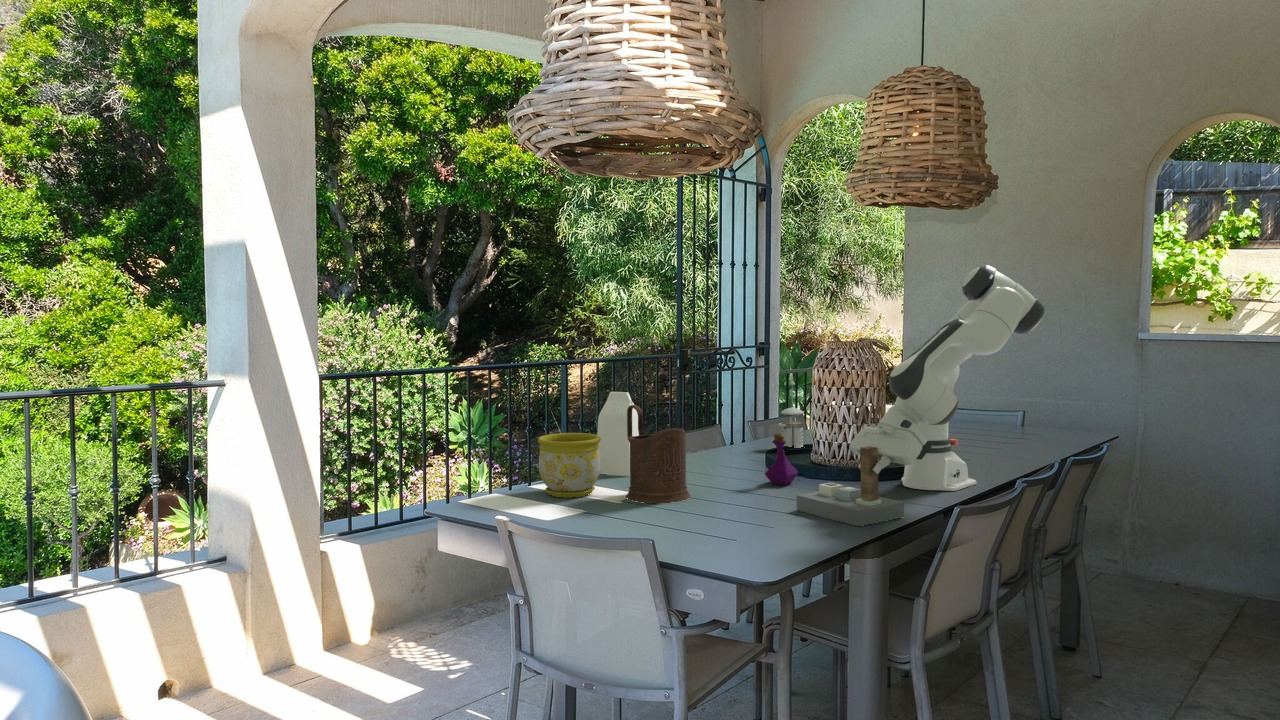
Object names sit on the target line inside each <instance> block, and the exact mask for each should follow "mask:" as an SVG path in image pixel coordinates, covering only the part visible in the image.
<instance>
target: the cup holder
mask: <svg viewBox="0 0 1280 720" xmlns="http://www.w3.org/2000/svg"><path fill="white" fill-rule="evenodd" d="M633 408H634V409H635V410H636V411H637V414H638V432H639V436H632V409H633ZM686 435H687V434H686V430H685V429H684V428H681V427H677V428H676V427H675V428H668V429H663V430H659V431H658V432H656V433H651V434H645V432H644V414H643V410H642V408H641V407H640V406H638V405H637V404H634V405H630V406H629V407H628V408H627V437H628V440H629V443H630V477H629V484H630V485H629V487H628V489H629V490H628V492H627V494H626V495H625V498H626V497H627V498H628V499H630V500H633V501H638V502H644V503H671V502H678V501H682V500H686V499H688V498H690V496H691V494H690V492H689V491H688V486H687V471H686V470H687V465H686V464H687V461H686V459H687V457H686V456H687V455H686V454H687V453H686V448H687V447H686V439H687V438H686ZM690 499H691V498H690ZM686 501H687V500H686ZM678 503H679V502H678ZM671 504H672V503H671Z"/></svg>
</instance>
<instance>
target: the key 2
mask: <svg viewBox="0 0 1280 720" xmlns="http://www.w3.org/2000/svg"><path fill="white" fill-rule="evenodd" d="M856 503H857V504H861V505H865V506H874V505H879V504H881V500H879V499H876V500H870V501H869V500H865V499H861V498H859V499H856Z"/></svg>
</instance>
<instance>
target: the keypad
mask: <svg viewBox="0 0 1280 720" xmlns="http://www.w3.org/2000/svg"><path fill="white" fill-rule="evenodd" d="M878 498H879V500H881V504H879V505H874V506H865V505H861V504H857V503H856V501H851V502H849V501H845V500H841V499H837V496H835V497H828V496H824V495H820V494H819V490H818V491H814V492H808V493H807V492H806V493H802V494H796V511H799V512H803V513H806V514H809V515H814V516H817V517H820V518H824V519H827V520H828V519H829V520H832V521H835V520H836V522H839V521H840V522H839V523H843V522H844V523H843V524H846V523H848V524H847V525H850V524H853V525H852V526H854V525H857V526H862V525H867V524H872V523H876V522H881V523H884V522H883V521H886V520H891V519H896V518H900V519H902V518H901V517H904V518H905V501H901V500H897V499H892V498H888V497H887V498H886V497H882V496H880V495H878ZM896 520H897V519H896ZM891 521H892V520H891ZM886 522H887V521H886ZM876 524H877V523H876ZM872 525H873V524H872ZM857 526H856V527H857ZM867 526H868V525H867ZM862 527H863V526H862Z"/></svg>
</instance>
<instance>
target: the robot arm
mask: <svg viewBox="0 0 1280 720" xmlns="http://www.w3.org/2000/svg"><path fill="white" fill-rule="evenodd" d="M961 288H962V290H961V291H962V294H963V295H964V297H965V298H966V299H967V300H968V301H967V302H966V303H965V304H964V305H963V306H962V307H961V308H960V309H959V310H958V311H957V312H956V313H955V314H954V316H952V317H951V319H950V320H949V321H947V323H946V324H944V325H943V326H941V328H939V329H938V330H937V331H936V332H935V333H934V334H932V336H930V337H928V339H927V340H926V341H925V342H924V343H923V344H922V345H920V347H918V348H917V349H916V350H915V351H914V352H913V353H912V354H911V355H909V356H908V357H906V358H905V359H904V360H903V361H901V362H900V363H899V364H898V365H896V366H895V367H894V368H893V370H892V371H890V373H889V376H888V377H889V378H888V379H889V381H888V382H889V383H888V384H889V388H890V389H889V390H890V391H891V392H892V393H893V394H894V395H895V396H896V400H895V402H894V404H893V405H892V406H890V407H889V408H888V410H887V411H886V412H885V414H884V415H883V416H882V418H881V420H880V421H879V422H878V424H877V425H876V424H870V425H869V426H865V427H864V428H862V429H861V430H860V431H859V432H858V433H857V434H856V435H855V436H854V437H853V439H852V440H851V441H850V443H849V449H850V450H851V451H852V452H853V454H854V455H856V456H859V457H860V447H867V446H871V447H877V448H878V463H877V464H873V466H872V467H871V471H872V472H873V473H876V474H878V475H879V474H880V472H881V470H883V469H884V468H886V467H887V466H889V465H890V464H891V463H894V464H898V465H904V471H903V472H904V473H903V476H902V477H901V482H902V485H903V486H904V487H907V488H910V489H917V490H923V491H924V490H925V491H946V492H948V491H949V492H955V491H959V490H961V489H964V488H967V487H971V486H974V485H977V484H978V483H977V480H976V479H974V478H971V477H969V474H968V473H969V471H968V465H967V463H966V462H965V461H964V460H963V459H961V458H960V456H958V455H957V454H956V452H954V451H953V447H957V446H958V445H959V440H958V439H957V438H949V422H950V421H951V420H952V419H953V417H954V416H955V415H956V413H957V410H958V409H959V408H958V407H959V399H958V397H957V396H956V395H955V393H954V388H955V384H956V382H957V380H958V378H959V376H960V372H961V371H960V365H961V364H963V363H964V362H965V361H967V360H969V359H970V358H971V357H973V355H976V356H989V355H992V354H995V353H997V352H998V351H1000V350H1001V349H1002V348H1003V347H1004V345H1005V344H1006V343H1007V341H1008V340H1009V339H1010V337H1012V335H1013V333H1015V334H1018V335H1023V334H1028V333H1029V332H1030V331H1033V330H1034V329H1035V328H1036V327H1038V326H1039V324H1040V323H1041V321H1042V320H1043V317H1044V314H1045V306H1044V305H1043V303H1042V302H1041V301H1040V300H1039V298H1037V297H1036V298H1035V297H1034V296H1033V295H1032V294H1031V293H1030V292H1029V291H1028V290H1027V289H1026V288H1024V287H1023V286H1022V285H1021V284H1020V283H1019V282H1016V281H1014V280H1013V279H1011V278H1010V277H1008V276H1007V275H1006V274H1003V273H1002V272H1000V271H998V270H997V268H995V267H993V266H991V265H989V264H982V265H979V266H978V267H976V268H974V269H973V270H971V271H970V272H969V273H968V274H967V275H966V277H965V279H964V282H963V285H962V287H961ZM952 446H953V447H952ZM858 468H859V470H860V471H861V462H859V464H858Z"/></svg>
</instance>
